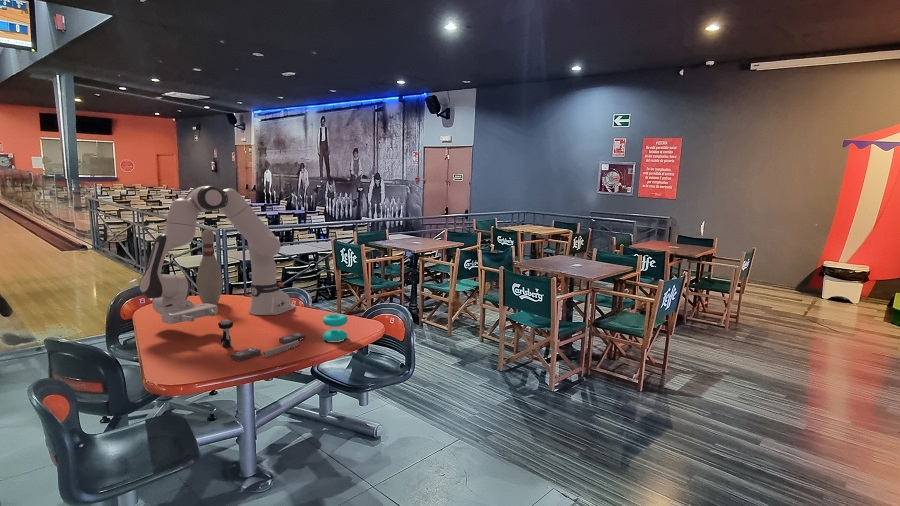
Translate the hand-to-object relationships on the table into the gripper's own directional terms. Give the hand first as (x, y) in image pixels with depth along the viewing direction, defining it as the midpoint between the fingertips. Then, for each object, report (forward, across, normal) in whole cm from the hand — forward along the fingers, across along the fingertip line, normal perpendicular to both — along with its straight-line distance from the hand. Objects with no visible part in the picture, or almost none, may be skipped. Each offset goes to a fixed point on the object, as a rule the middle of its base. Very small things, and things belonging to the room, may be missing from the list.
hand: (203, 316), depth 192 cm
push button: (+13, -1, -9) cm, 16 cm away
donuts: (+42, -30, -8) cm, 52 cm away
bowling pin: (-45, -34, -10) cm, 57 cm away
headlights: (+31, -8, -8) cm, 33 cm away
